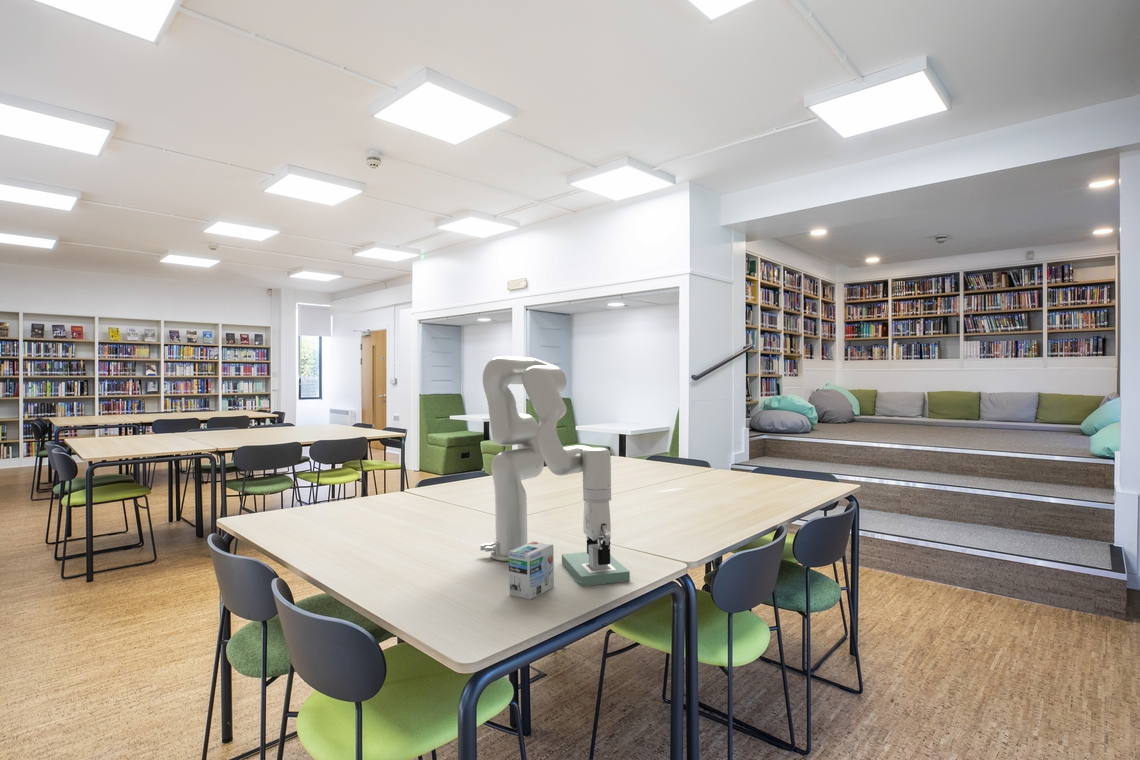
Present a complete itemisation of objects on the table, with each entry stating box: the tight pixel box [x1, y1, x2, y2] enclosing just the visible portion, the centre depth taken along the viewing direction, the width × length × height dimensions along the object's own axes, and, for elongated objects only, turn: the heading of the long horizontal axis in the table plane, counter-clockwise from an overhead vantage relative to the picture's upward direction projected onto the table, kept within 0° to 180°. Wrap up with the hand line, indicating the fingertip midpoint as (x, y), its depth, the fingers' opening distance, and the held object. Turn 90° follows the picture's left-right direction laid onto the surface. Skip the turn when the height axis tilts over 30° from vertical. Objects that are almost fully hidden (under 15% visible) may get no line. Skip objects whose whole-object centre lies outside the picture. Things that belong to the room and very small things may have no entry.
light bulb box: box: [508, 540, 555, 600], centre depth 139 cm, size 11×7×11 cm, turn 148°
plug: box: [588, 544, 608, 571], centre depth 149 cm, size 4×4×8 cm
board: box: [561, 551, 631, 587], centre depth 153 cm, size 13×20×2 cm, turn 15°
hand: (598, 558), depth 149 cm, fingers open, 9 cm apart
